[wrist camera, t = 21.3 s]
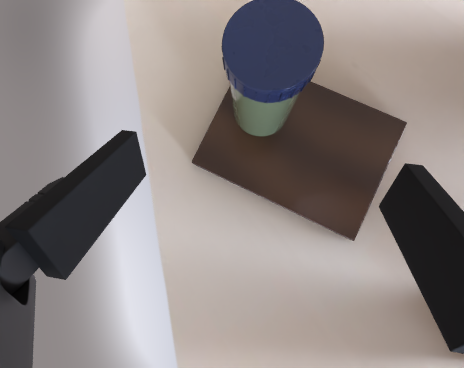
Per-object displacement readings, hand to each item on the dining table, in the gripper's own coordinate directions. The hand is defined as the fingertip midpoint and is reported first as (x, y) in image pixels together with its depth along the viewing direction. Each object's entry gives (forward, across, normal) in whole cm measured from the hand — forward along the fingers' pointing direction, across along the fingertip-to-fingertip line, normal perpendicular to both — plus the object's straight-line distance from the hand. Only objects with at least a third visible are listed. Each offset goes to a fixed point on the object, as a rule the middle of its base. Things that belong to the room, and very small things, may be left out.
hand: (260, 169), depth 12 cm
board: (+18, +4, -8) cm, 20 cm away
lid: (+11, 0, +4) cm, 11 cm away
